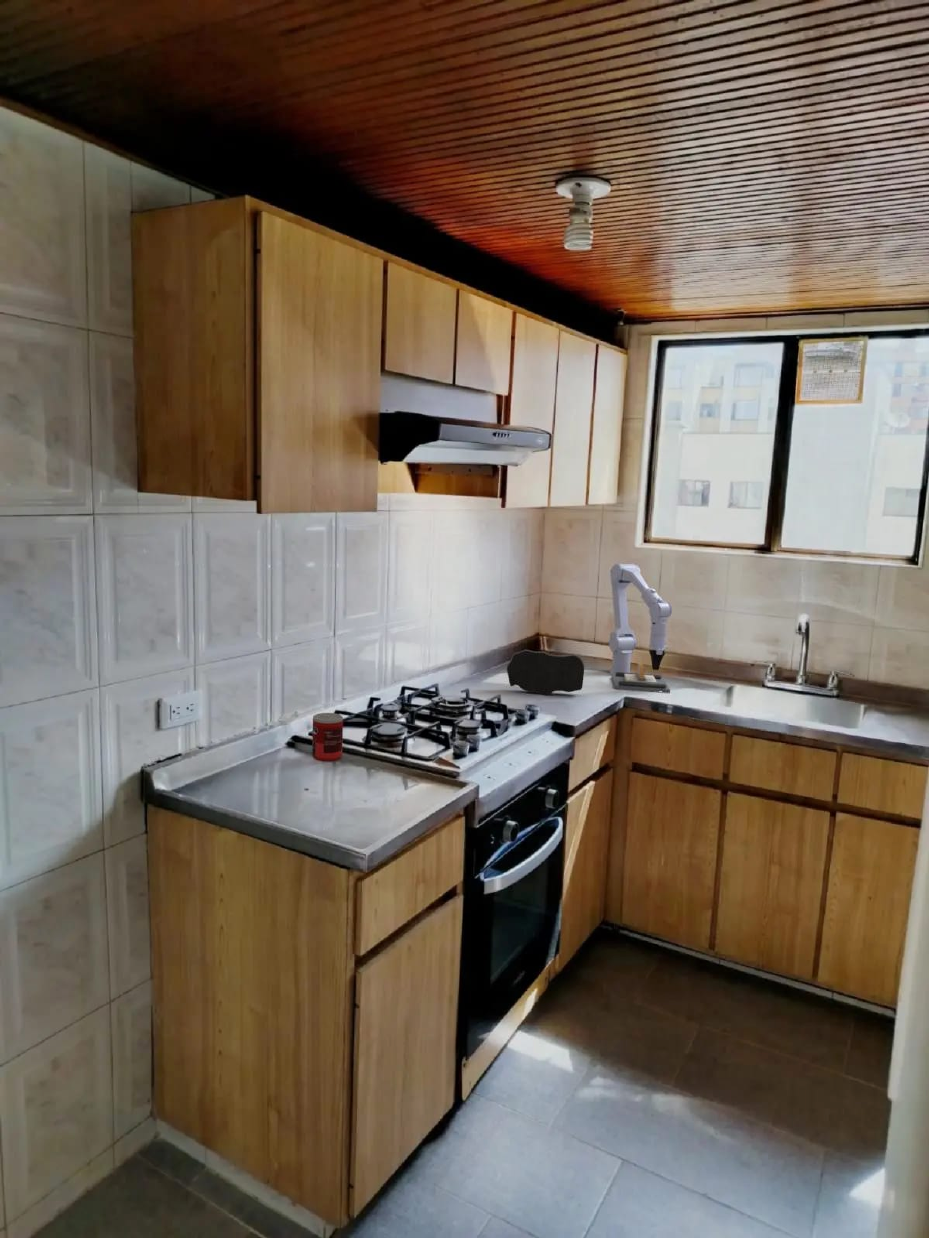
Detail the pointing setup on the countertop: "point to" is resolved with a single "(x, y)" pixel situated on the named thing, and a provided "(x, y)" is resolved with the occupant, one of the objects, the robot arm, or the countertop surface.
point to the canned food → (327, 736)
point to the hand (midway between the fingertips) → (655, 669)
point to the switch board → (659, 681)
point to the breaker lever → (640, 673)
